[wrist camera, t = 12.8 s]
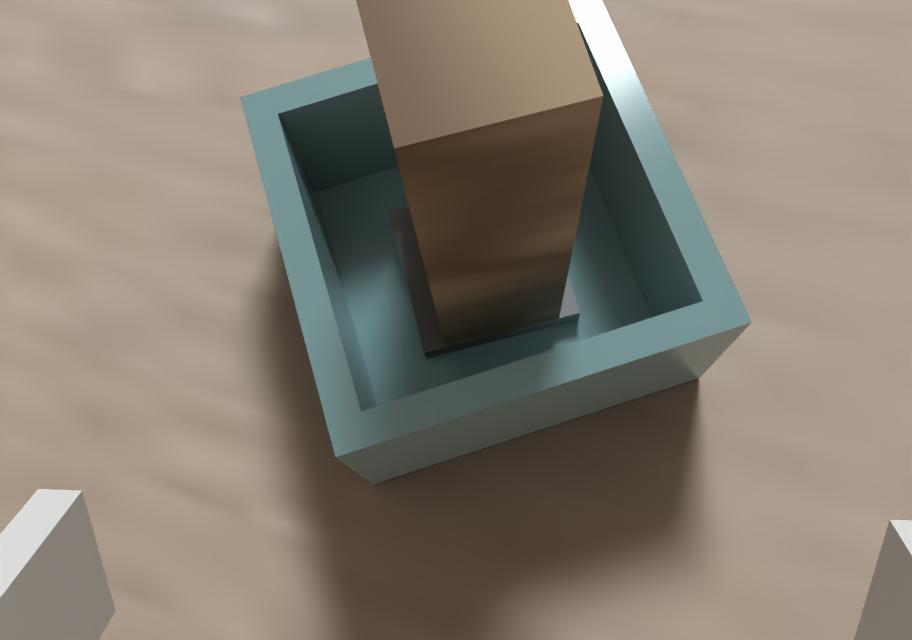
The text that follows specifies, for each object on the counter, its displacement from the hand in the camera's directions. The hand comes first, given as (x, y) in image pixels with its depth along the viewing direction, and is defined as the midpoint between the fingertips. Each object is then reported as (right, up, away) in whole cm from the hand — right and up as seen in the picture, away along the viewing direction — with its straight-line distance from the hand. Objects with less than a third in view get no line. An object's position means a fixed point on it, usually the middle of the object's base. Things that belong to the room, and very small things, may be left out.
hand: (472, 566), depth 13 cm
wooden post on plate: (0, +6, +10) cm, 11 cm away
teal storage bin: (+1, +5, +10) cm, 12 cm away
